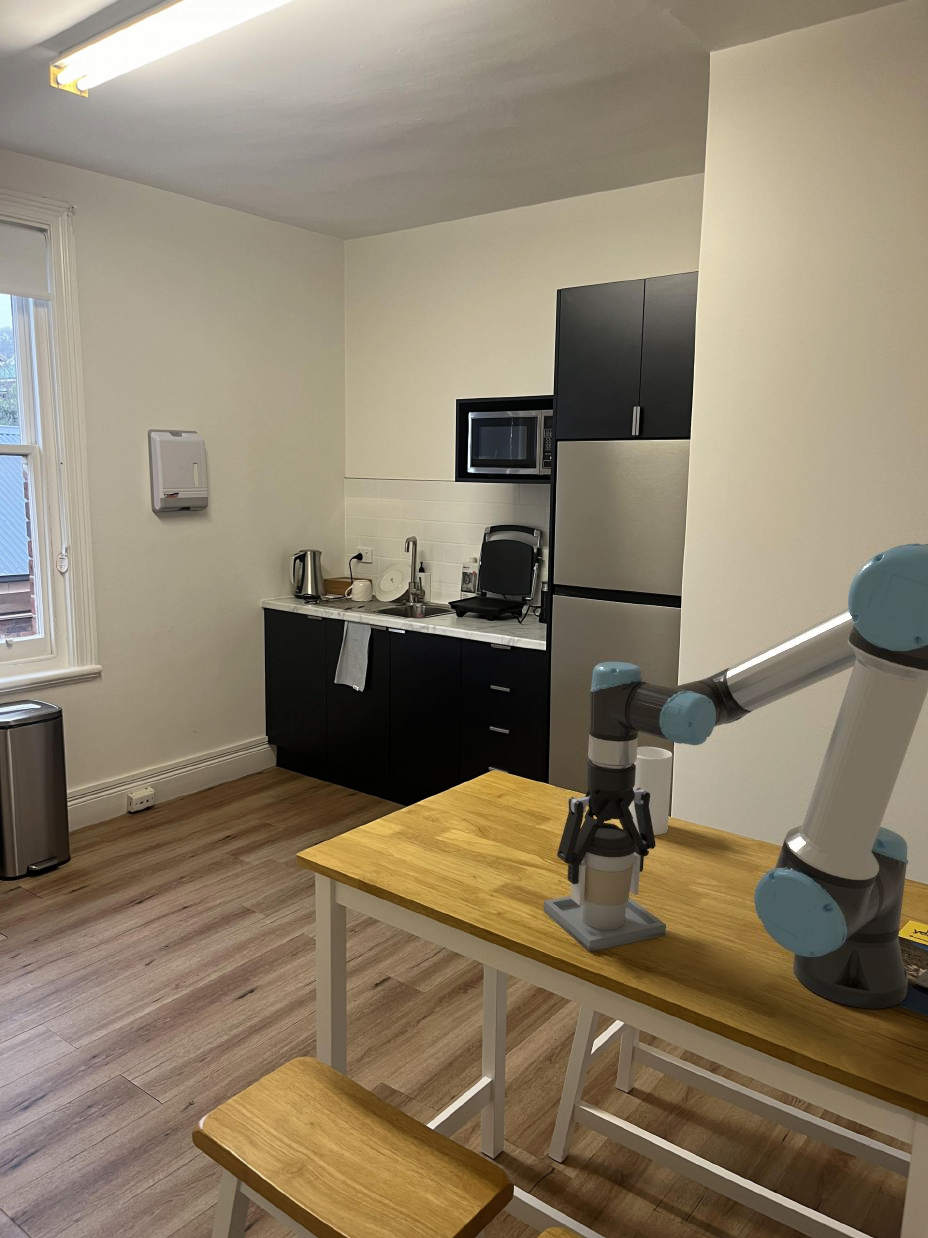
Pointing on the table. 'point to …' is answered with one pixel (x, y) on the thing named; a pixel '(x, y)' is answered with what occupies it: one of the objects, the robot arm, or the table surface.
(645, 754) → the cup
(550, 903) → the tray
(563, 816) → the table surface
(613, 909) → the coffee cup
